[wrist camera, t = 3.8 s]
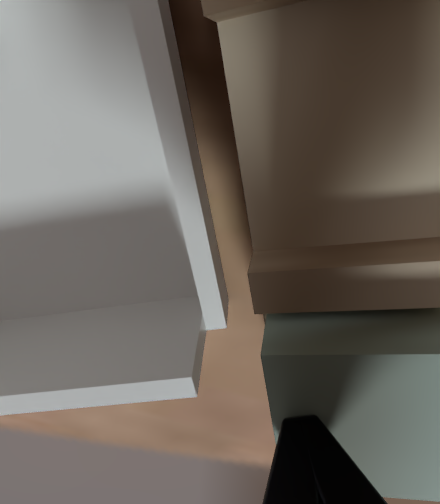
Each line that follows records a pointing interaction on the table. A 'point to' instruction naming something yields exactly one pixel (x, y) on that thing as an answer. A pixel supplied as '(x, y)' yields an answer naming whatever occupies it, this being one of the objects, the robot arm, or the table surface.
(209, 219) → the bin
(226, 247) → the table surface
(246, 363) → the table surface
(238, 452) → the table surface
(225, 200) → the table surface
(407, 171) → the lever
